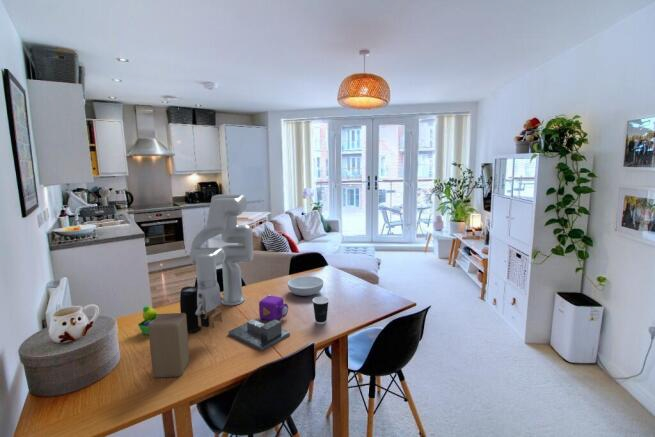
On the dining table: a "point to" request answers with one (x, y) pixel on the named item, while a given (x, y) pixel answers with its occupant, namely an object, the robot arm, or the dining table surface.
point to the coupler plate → (255, 337)
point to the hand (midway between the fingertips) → (210, 322)
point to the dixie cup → (320, 309)
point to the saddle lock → (212, 317)
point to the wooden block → (169, 344)
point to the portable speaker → (190, 307)
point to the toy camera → (272, 308)
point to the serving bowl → (305, 285)
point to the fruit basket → (147, 319)
